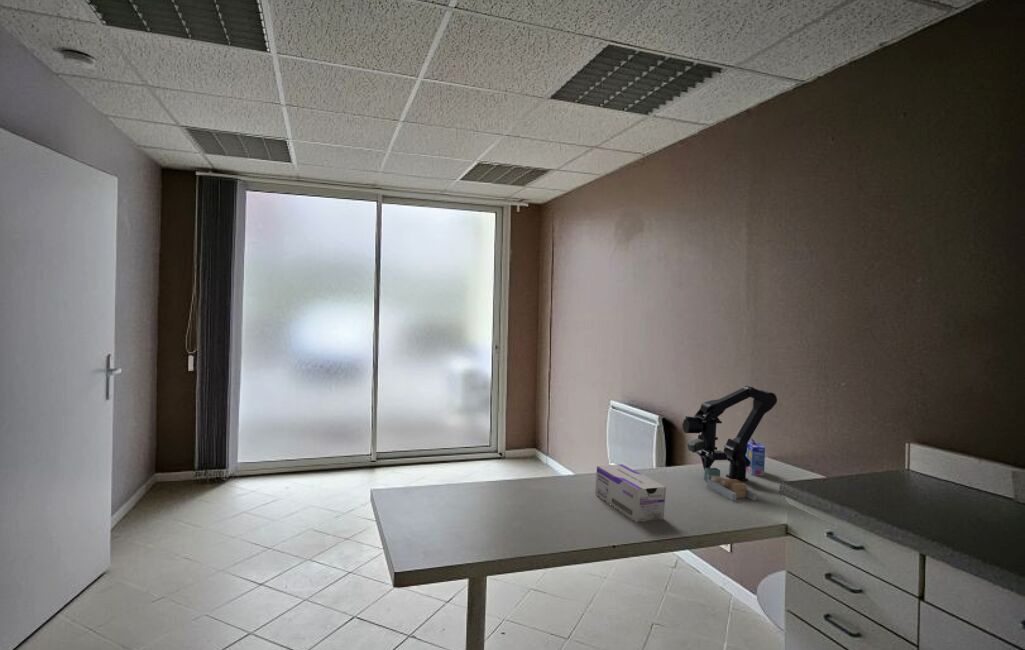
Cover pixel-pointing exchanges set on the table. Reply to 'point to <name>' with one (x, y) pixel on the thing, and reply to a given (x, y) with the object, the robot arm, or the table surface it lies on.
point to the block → (736, 487)
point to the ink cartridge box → (755, 458)
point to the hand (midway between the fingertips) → (705, 471)
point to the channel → (728, 492)
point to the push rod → (713, 475)
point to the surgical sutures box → (630, 492)
